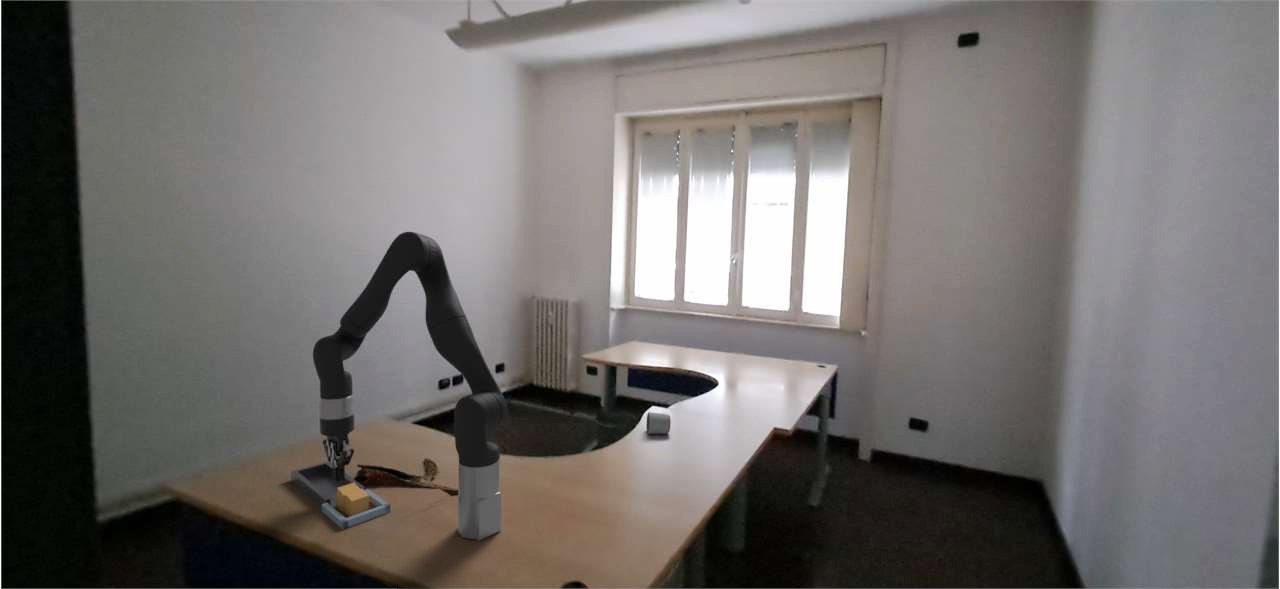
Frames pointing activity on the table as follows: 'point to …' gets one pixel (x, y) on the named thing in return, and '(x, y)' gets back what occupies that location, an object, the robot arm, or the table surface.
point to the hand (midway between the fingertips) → (339, 479)
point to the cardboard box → (356, 502)
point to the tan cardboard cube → (341, 494)
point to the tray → (343, 522)
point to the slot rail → (320, 482)
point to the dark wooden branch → (393, 477)
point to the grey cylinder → (658, 423)
